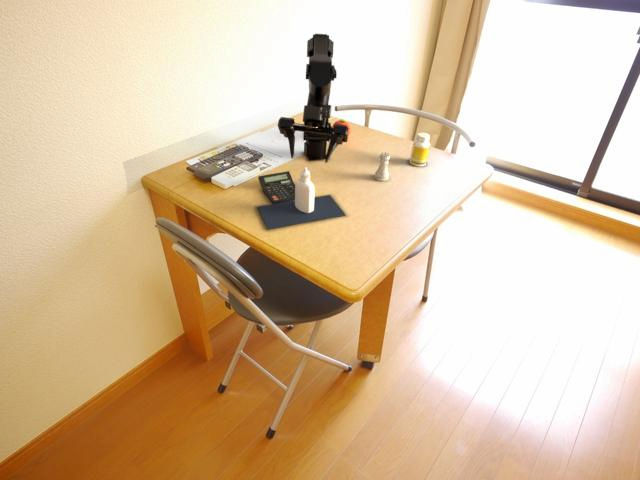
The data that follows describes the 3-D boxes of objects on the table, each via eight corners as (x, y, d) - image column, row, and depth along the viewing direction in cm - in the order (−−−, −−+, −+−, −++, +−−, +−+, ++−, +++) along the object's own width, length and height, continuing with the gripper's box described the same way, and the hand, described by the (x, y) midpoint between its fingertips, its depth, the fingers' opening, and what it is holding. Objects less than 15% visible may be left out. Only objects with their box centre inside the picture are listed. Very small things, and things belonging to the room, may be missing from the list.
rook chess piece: (390, 177, 126) (394, 153, 121) (386, 183, 122) (390, 158, 118) (376, 173, 127) (380, 149, 122) (372, 179, 124) (375, 155, 119)
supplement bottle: (428, 166, 133) (434, 138, 127) (412, 166, 132) (418, 138, 126) (422, 159, 137) (428, 131, 131) (407, 159, 136) (412, 131, 131)
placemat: (329, 196, 115) (329, 194, 114) (345, 215, 107) (345, 214, 107) (257, 207, 108) (257, 206, 107) (268, 229, 100) (268, 228, 100)
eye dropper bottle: (309, 202, 111) (311, 162, 103) (314, 213, 106) (316, 172, 99) (293, 203, 109) (294, 163, 102) (298, 215, 105) (299, 173, 98)
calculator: (272, 204, 109) (272, 195, 107) (258, 184, 117) (258, 175, 116) (304, 198, 113) (304, 189, 111) (288, 179, 121) (288, 170, 119)
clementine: (332, 133, 151) (334, 114, 147) (351, 136, 150) (353, 117, 146) (328, 141, 145) (330, 122, 140) (348, 144, 144) (350, 125, 140)
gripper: (279, 86, 103) (269, 145, 101) (352, 95, 102) (344, 154, 100) (285, 105, 114) (276, 159, 112) (351, 114, 113) (343, 168, 111)
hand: (308, 160), depth 108 cm, fingers open, 9 cm apart
